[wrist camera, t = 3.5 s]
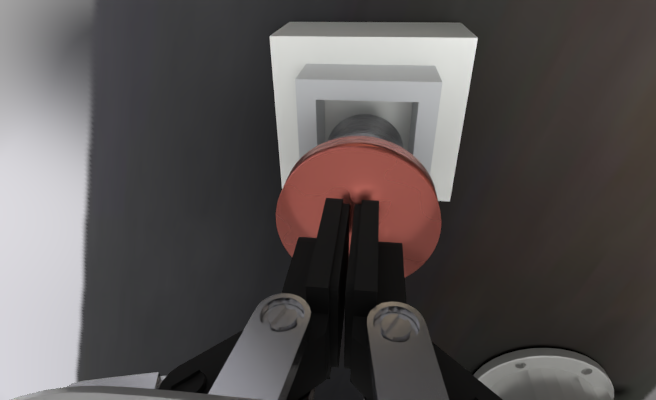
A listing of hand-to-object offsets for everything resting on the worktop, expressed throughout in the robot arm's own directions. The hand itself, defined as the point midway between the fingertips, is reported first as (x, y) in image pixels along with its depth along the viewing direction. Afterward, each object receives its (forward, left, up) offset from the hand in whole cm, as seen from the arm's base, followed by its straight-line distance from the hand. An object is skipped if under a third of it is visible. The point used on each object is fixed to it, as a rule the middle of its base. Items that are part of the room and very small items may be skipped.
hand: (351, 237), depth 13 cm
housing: (0, 0, -15) cm, 15 cm away
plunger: (0, 0, -7) cm, 7 cm away
